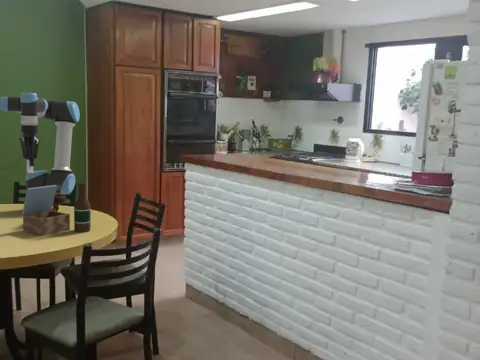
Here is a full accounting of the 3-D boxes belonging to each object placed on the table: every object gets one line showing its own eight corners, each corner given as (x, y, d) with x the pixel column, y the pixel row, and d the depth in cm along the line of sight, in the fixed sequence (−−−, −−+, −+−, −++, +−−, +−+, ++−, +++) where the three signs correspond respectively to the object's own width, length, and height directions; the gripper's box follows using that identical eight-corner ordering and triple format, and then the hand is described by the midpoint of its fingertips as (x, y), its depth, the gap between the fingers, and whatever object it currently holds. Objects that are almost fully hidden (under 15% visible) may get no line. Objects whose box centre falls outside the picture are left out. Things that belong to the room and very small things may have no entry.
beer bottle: (84, 233, 243) (83, 184, 240) (70, 231, 246) (70, 183, 242) (93, 229, 250) (93, 182, 247) (81, 228, 253) (80, 181, 250)
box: (51, 225, 255) (51, 210, 254) (69, 230, 248) (69, 214, 247) (23, 231, 242) (23, 215, 241) (42, 236, 235) (41, 219, 234)
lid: (51, 210, 254) (49, 209, 255) (57, 185, 250) (55, 184, 251) (23, 215, 241) (21, 214, 241) (28, 189, 237) (27, 188, 237)
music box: (65, 224, 259) (64, 186, 256) (42, 225, 256) (41, 186, 253) (67, 218, 273) (66, 182, 270) (45, 218, 270) (45, 182, 268)
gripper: (14, 124, 245) (15, 172, 248) (31, 125, 238) (31, 174, 241) (27, 124, 251) (28, 170, 254) (44, 125, 244) (45, 173, 247)
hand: (30, 172), depth 247 cm, fingers closed
